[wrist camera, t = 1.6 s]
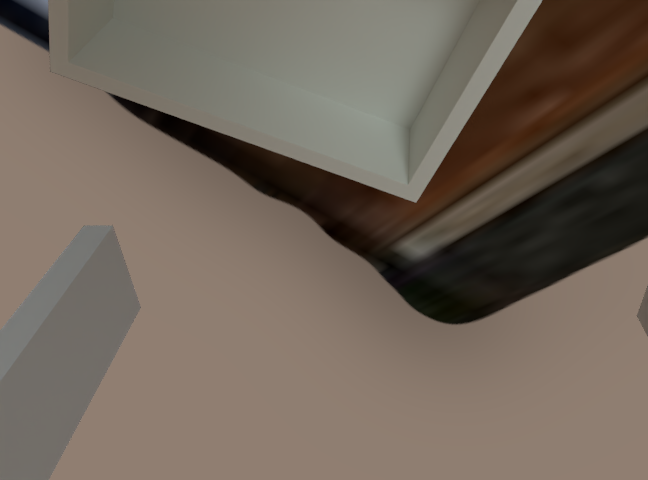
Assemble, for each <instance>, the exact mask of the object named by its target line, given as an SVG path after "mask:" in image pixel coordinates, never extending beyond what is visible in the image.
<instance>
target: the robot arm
mask: <svg viewBox="0 0 648 480" xmlns="http://www.w3.org/2000/svg"><path fill="white" fill-rule="evenodd" d="M140 308H141V307H140V304H139V301H138V298H137V295H136V292H135V289H134V286H133V284H132V281H131V277H130V275H129V272H128V269H127V266H126V263H125V260H124V257H123V254H122V251H121V248H120V245H119V242H118V239H117V236H116V234H115V231H114V228H113V226H83V228H82V229H81V230H80V232H79V233H78V234H77V235H76V236H75V238H74V239H73V240H72V241H71V243H70V244H69V245H68V246H67V248H66V249H65V250H64V251H63V253H62V254H61V255H60V256H59V258H58V259H57V260H56V262H55V263H54V264H53V265H52V266H51V268H50V269H49V270H48V272H47V273H46V274H45V275H44V277H43V278H42V279H41V280H40V282H39V283H38V284H37V285H36V287H35V288H34V289H33V290H32V292H31V293H30V294H29V295H28V297H27V298H26V299H25V300H24V302H23V303H22V304H21V306H20V307H19V308H18V309H17V310H16V312H15V313H14V314H13V315H12V317H11V318H10V319H9V320H8V322H7V323H6V324H5V325H4V327H3V328H2V329H1V330H0V480H49V478H50V476H51V474H52V473H53V471H54V469H55V467H56V465H57V463H58V461H59V459H60V458H61V456H62V454H63V452H64V450H65V448H66V446H67V444H68V443H69V441H70V439H71V437H72V435H73V433H74V431H75V430H76V428H77V426H78V424H79V422H80V420H81V418H82V416H83V415H84V413H85V411H86V409H87V407H88V405H89V403H90V402H91V399H92V398H93V396H94V394H95V392H96V390H97V388H98V387H99V385H100V383H101V381H102V379H103V377H104V375H105V373H106V372H107V370H108V368H109V366H110V364H111V362H112V360H113V358H114V357H115V355H116V353H117V351H118V349H119V347H120V345H121V344H122V342H123V340H124V338H125V336H126V334H127V332H128V330H129V329H130V327H131V325H132V323H133V321H134V319H135V317H136V315H137V314H138V312H139V310H140ZM637 317H638V319H639V321H640V322H641V324H642V327H643V328H644V330H645V332H646V334H647V336H648V286H647V289H646V292H645V295H644V297H643V300H642V303H641V306H640V309H639V312H638V314H637Z"/></svg>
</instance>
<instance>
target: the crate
mask: <svg viewBox="0 0 648 480" xmlns="http://www.w3.org/2000/svg"><path fill="white" fill-rule="evenodd" d="M541 2H542V0H48V6H49V48H50V72H53V73H55V74H58V75H61V76H64V77H67V78H70V79H72V80H75V81H78V82H81V83H83V84H86V85H89V86H92V87H94V88H97V89H100V90H103V91H106V92H108V93H111V94H114V95H117V96H120V97H122V98H125V99H128V100H131V101H134V102H136V103H139V104H142V105H145V106H148V107H150V108H153V109H156V110H159V111H161V112H164V113H167V114H170V115H173V116H175V117H178V118H181V119H184V120H187V121H189V122H192V123H195V124H198V125H201V126H203V127H206V128H209V129H212V130H215V131H217V132H220V133H223V134H226V135H229V136H231V137H234V138H237V139H240V140H242V141H245V142H248V143H251V144H254V145H256V146H259V147H262V148H265V149H268V150H270V151H273V152H276V153H279V154H282V155H284V156H287V157H290V158H293V159H296V160H298V161H301V162H304V163H307V164H309V165H312V166H315V167H318V168H321V169H323V170H326V171H329V172H332V173H335V174H337V175H340V176H343V177H346V178H349V179H351V180H354V181H357V182H360V183H363V184H365V185H368V186H371V187H374V188H377V189H379V190H382V191H385V192H388V193H390V194H393V195H396V196H399V197H402V198H404V199H407V200H410V201H413V202H417V200H418V199H419V197H420V196H421V194H422V192H423V191H424V189H425V188H426V186H427V184H428V183H429V181H430V180H431V178H432V176H433V175H434V173H435V172H436V170H437V168H438V167H439V165H440V164H441V162H442V160H443V159H444V157H445V156H446V154H447V152H448V151H449V149H450V148H451V146H452V144H453V143H454V141H455V140H456V138H457V136H458V135H459V133H460V132H461V130H462V128H463V127H464V125H465V124H466V122H467V120H468V119H469V117H470V116H471V114H472V112H473V111H474V109H475V108H476V106H477V104H478V103H479V101H480V100H481V98H482V96H483V95H484V93H485V92H486V90H487V88H488V87H489V85H490V84H491V82H492V80H493V79H494V77H495V76H496V74H497V72H498V71H499V69H500V68H501V66H502V64H503V63H504V61H505V60H506V58H507V56H508V55H509V53H510V52H511V50H512V48H513V47H514V45H515V44H516V42H517V40H518V39H519V37H520V36H521V34H522V32H523V31H524V29H525V28H526V26H527V24H528V23H529V21H530V20H531V18H532V16H533V15H534V13H535V12H536V10H537V8H538V7H539V5H540V4H541Z"/></svg>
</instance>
